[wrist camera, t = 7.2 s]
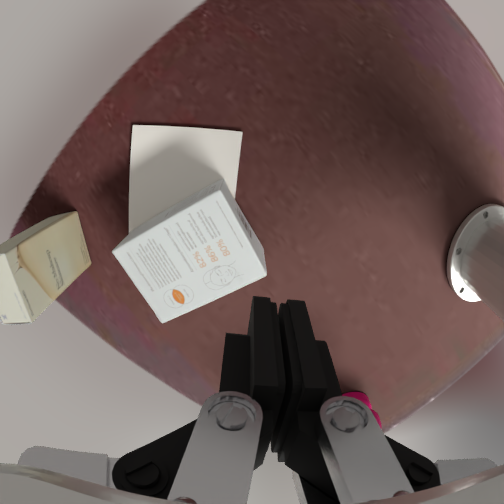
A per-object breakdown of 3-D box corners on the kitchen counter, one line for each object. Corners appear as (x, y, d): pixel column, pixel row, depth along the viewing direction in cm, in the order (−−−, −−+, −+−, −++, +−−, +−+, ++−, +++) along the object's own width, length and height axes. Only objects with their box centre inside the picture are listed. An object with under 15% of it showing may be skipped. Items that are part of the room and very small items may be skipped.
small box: (225, 176, 28) (130, 228, 29) (220, 188, 23) (108, 250, 24) (264, 250, 31) (172, 294, 32) (268, 277, 25) (160, 325, 27)
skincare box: (93, 263, 31) (35, 327, 20) (62, 268, 31) (2, 327, 20) (77, 207, 29) (5, 252, 18) (45, 215, 29) (-26, 260, 18)
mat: (242, 131, 27) (242, 131, 26) (228, 257, 31) (228, 258, 31) (134, 125, 26) (132, 125, 26) (130, 246, 31) (129, 248, 30)
